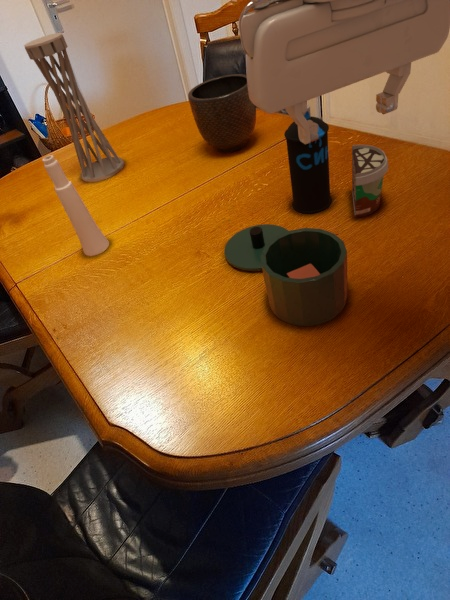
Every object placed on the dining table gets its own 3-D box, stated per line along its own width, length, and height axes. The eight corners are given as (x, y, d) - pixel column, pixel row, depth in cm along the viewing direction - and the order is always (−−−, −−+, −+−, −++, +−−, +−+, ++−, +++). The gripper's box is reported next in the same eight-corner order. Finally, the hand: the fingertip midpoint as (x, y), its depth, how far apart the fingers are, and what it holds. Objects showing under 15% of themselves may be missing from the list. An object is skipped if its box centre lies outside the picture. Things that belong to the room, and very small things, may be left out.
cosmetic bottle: (112, 247, 91) (65, 155, 76) (88, 260, 90) (35, 168, 75) (105, 236, 95) (59, 147, 80) (81, 248, 94) (30, 159, 79)
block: (312, 282, 69) (310, 263, 66) (325, 298, 66) (324, 278, 63) (289, 292, 68) (286, 273, 65) (301, 308, 65) (299, 289, 62)
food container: (389, 219, 77) (393, 171, 70) (355, 222, 79) (356, 175, 72) (382, 185, 85) (385, 139, 79) (351, 188, 87) (351, 144, 80)
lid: (290, 223, 83) (287, 204, 80) (299, 266, 73) (296, 245, 70) (225, 235, 85) (220, 216, 82) (225, 278, 75) (220, 259, 72)
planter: (205, 138, 123) (190, 82, 112) (261, 127, 120) (252, 68, 109) (200, 165, 111) (183, 105, 100) (262, 153, 108) (252, 90, 97)
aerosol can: (285, 201, 89) (274, 108, 75) (319, 188, 90) (313, 94, 76) (303, 218, 83) (294, 121, 69) (339, 204, 84) (337, 105, 70)
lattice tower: (74, 175, 125) (9, 48, 101) (110, 156, 130) (56, 30, 106) (94, 186, 116) (27, 49, 92) (132, 165, 121) (78, 30, 97)
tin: (338, 267, 71) (336, 222, 64) (354, 319, 62) (354, 273, 55) (266, 278, 73) (258, 236, 66) (272, 331, 64) (263, 288, 57)
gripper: (249, 3, 31) (273, 170, 40) (478, -73, 33) (449, 102, 42) (221, -2, 35) (249, 148, 45) (424, -69, 38) (409, 88, 47)
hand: (348, 125), depth 44 cm, fingers open, 8 cm apart
